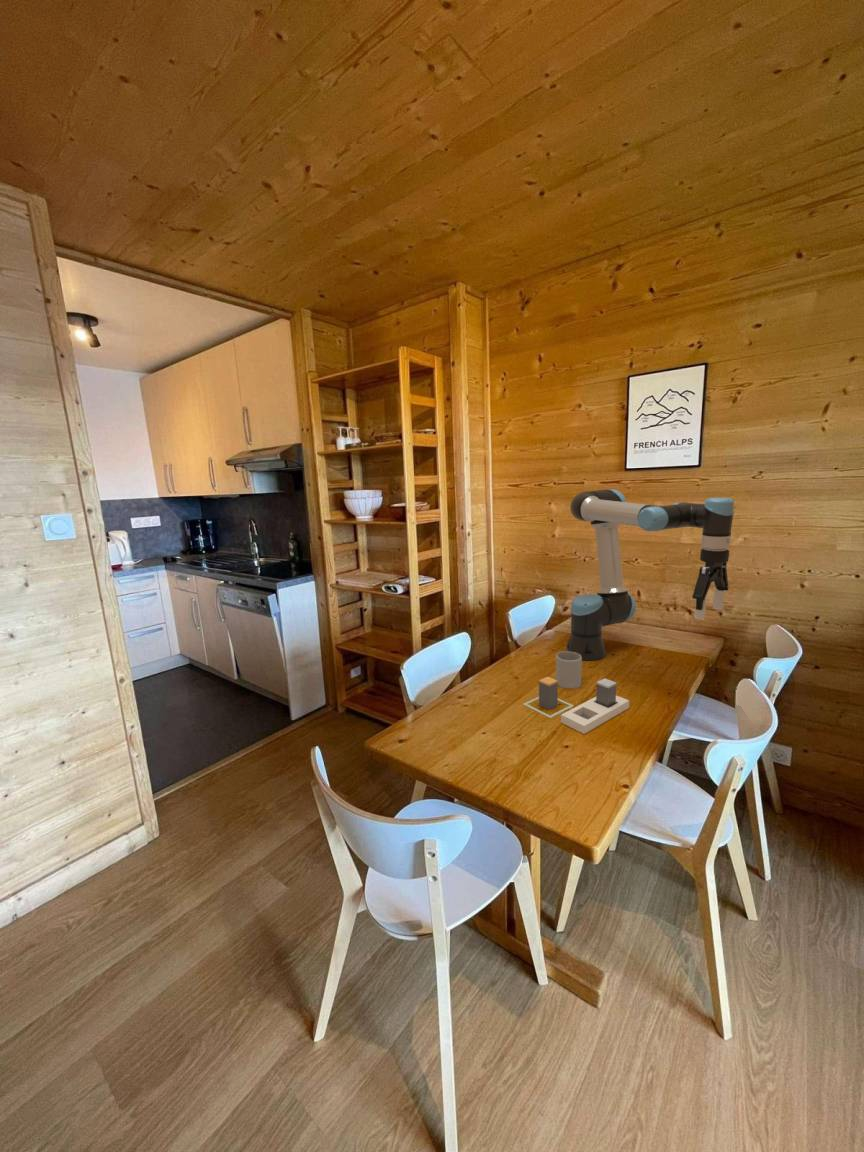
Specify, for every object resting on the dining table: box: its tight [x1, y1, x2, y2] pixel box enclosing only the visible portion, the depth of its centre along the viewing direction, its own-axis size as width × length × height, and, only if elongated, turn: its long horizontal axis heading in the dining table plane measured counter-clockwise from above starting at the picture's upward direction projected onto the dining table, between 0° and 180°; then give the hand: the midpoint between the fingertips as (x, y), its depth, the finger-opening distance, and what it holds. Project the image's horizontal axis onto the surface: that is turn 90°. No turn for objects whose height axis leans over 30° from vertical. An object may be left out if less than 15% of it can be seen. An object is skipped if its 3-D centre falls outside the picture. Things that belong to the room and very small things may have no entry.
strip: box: [560, 694, 630, 735], centre depth 137 cm, size 8×22×4 cm, turn 126°
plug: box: [538, 676, 559, 711], centre depth 144 cm, size 4×4×9 cm
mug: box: [555, 650, 583, 689], centre depth 159 cm, size 12×8×11 cm
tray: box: [522, 696, 574, 719], centre depth 145 cm, size 11×11×1 cm
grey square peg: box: [595, 677, 617, 708], centre depth 139 cm, size 4×4×9 cm
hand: (708, 614), depth 146 cm, fingers open, 13 cm apart
